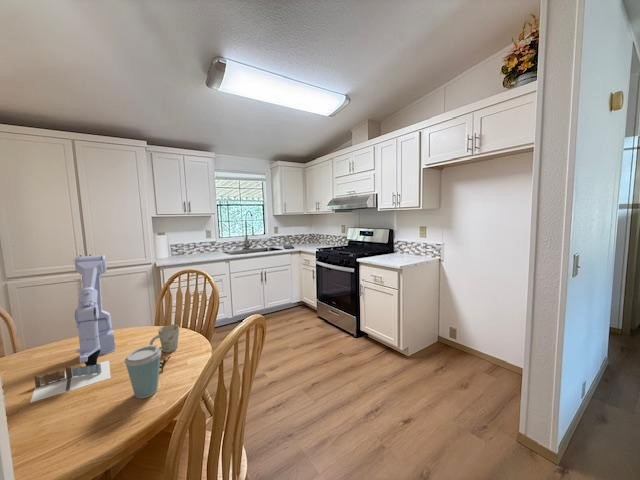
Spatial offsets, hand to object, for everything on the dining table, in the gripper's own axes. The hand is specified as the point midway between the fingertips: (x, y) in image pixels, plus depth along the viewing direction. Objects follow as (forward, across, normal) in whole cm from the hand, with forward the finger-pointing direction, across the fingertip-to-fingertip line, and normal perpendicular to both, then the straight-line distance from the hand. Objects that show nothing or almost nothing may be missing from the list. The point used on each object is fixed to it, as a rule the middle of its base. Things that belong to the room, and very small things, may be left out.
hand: (92, 370), depth 105 cm
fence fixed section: (+1, +1, -11) cm, 11 cm away
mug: (+2, -8, +24) cm, 26 cm away
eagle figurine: (+2, +6, +22) cm, 23 cm away
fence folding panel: (+1, +1, -1) cm, 2 cm away
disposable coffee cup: (+1, +22, +21) cm, 30 cm away
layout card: (+1, +2, -5) cm, 5 cm away
